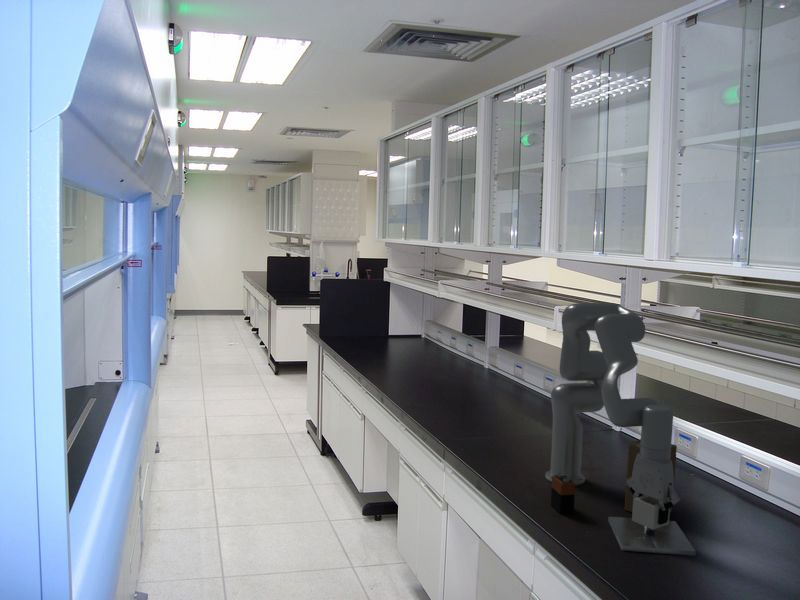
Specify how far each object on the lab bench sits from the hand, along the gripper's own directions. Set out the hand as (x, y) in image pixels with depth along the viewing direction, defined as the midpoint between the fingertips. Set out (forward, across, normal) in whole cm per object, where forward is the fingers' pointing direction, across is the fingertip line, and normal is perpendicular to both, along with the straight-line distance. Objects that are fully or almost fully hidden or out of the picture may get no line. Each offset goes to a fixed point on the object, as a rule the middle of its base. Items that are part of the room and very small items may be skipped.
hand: (650, 517), depth 182 cm
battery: (+6, -25, -6) cm, 26 cm away
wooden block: (+6, -11, +15) cm, 19 cm away
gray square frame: (+1, 0, 0) cm, 1 cm away
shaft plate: (+5, 0, 0) cm, 5 cm away
